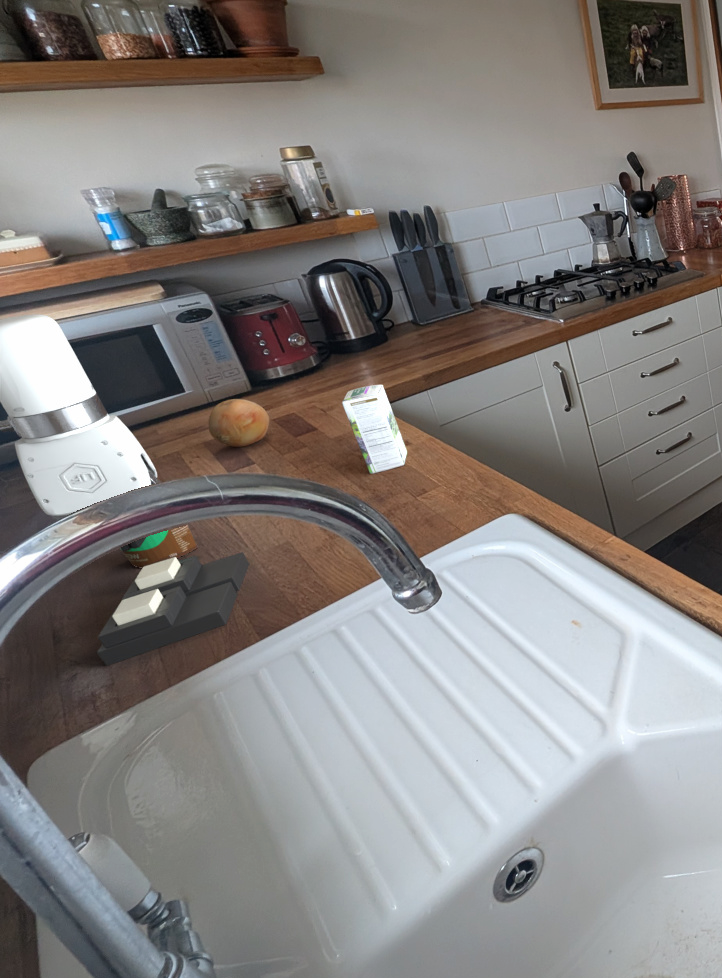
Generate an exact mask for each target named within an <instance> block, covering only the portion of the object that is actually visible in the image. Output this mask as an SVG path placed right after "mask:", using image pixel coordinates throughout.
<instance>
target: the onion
mask: <svg viewBox="0 0 722 978" xmlns="http://www.w3.org/2000/svg"><path fill="white" fill-rule="evenodd" d="M269 425H270V417H269V414H268V413H267V411H266V410H265V408H263V407H262V406H261V405H259V404H258V403H256V402H253V401H251V400H248V399H243V398H233V399H232V398H231V399H226V400H224V401H221V402H219V403H217V404H216V405H215V406H214V407H213V408H212V409H211V411H210V414H209V418H208V431H209V434H210V435H211V436H212V438H213V439H214V440H215V441H217V442H219V443H221V444H223V445H225V446H228V447H235V448H242V447H247V446H249V445H251V444H254V443H256V442H258V441H260V440H262V439H264V438H265V436H266V434H267V431H268V429H269Z"/></svg>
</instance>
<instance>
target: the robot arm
mask: <svg viewBox="0 0 722 978" xmlns="http://www.w3.org/2000/svg"><path fill="white" fill-rule="evenodd" d="M0 404H1V405H2V407H3V409H4V410H5V412H6V413H7V415H8V416H7V418H6V419H5V420H0V432H2V433H7V432H15V433H16V434H17V437H20V438H19V439H18V440H17V441H15V442H14V448H15V452H16V457H17V459H18V462H19V465H20V468H21V470H22V473H23V476H24V477H25V480H26V482H27V484H28V487H29V489H30V491H31V493H32V495H33V497H34V499H35V501H36V502H37V504H38V506H39V507H40V509H41V510H42V511H43V512H44V513H45V515H47V516H51V517H52V519H53V520H54V521H56V520H59V519H60V518H63V517H65V516H67V515H69V514H71V513H73V512H76V511H77V510H80V509H82V508H85V507H87V506H90V505H92V504H94V503H97V502H100V501H103V500H106V499H109V498H111V497H114V496H117V495H120V494H123V493H126V492H128V491H131V490H134V489H138V488H141V487H145V486H149V485H152V484H156V483H162V481H160V479H159V478H158V472H157V469H156V467H155V465H154V463H153V462H152V460H151V458H150V457H149V455H148V454H147V452H146V451H145V449H144V448H143V446H142V445H141V443H140V442H139V440H138V439H137V437H136V436H135V435H134V434H133V433H132V431H131V430H130V429H129V427H127V426H126V425H125V423H124V422H123V421H122V420H121V419H120V418H119V417H118V416H117V415H115V414H110V415H109V413H108V411H107V410H106V407H105V406H104V404H103V402H102V400H101V399H100V397H99V395H98V393H97V392H96V390H95V388H94V386H93V384H92V383H91V380H90V379H89V377H88V375H87V373H86V371H85V370H84V368H83V366H82V363H81V362H80V360H79V359H78V356H77V355H76V353H75V351H74V350H73V348H72V346H71V344H70V342H69V341H68V339H67V336H66V335H65V333H64V331H63V330H62V328H61V325H59V323H58V322H57V321H56V320H55V319H54V318H52V317H51V316H49V315H45V314H39V313H33V314H32V313H31V314H23V315H16V316H10V317H5V318H1V319H0ZM145 539H146V537H145V538H142V539H139V540H137V541H134V542H132V543H130V544H128V545H125V546H123V547H121V549H122V551H123V552H125V551H128V550H130V549H131V548H134V549H135V548H139V547H140V546H141V545H142V543H143V542H144V540H145ZM122 551H121V552H122ZM123 552H122V553H123Z"/></svg>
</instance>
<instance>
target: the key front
mask: <svg viewBox="0 0 722 978" xmlns="http://www.w3.org/2000/svg"><path fill="white" fill-rule="evenodd" d="M163 600H164V598H163V596H162V594H161V593H160V591H159V590H158V589H155V590H152V591H149V592H146V593H143V594H140V595H136V596H133V597H130V598H127V599H124V600H122V599H121V601H120V603H119V604H118V605H117V606H118V608H117V609H116V608H115V609H116V611H115V610H114V611H115V613H114V614H113V613H112V614H113V616H112V617H113V619H114V620H115V622H116V623H117V625H118V626H119V625H122V624H125V623H128V622H131V621H134V620H137V619H140V618H143V617H146V616H149V615H152V614H155V613H157V611H158V609H159V607H160V606H161V604H162V602H163Z"/></svg>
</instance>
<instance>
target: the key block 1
mask: <svg viewBox="0 0 722 978" xmlns="http://www.w3.org/2000/svg"><path fill="white" fill-rule="evenodd" d="M178 561H179V563H180V565H181V566H182V567H181V569H180V570H179V572H178V574H177V576H176V578H175V579H172V580H169V581H166V582H163V583H160V584H157V585H153V586H150V587H147V588H144V589H141V590H140V589H139V587H138V586H137V584H136V583H135V579H136V578H137V576H138V574H139V573H140V572H137V574H136V575H135V578H134V579H133V581H132V582H131V584H130V585H129V587H128V588H127V590H126V592H125V593H124V595H123V597H122V598H121V601H122V600H124V599H127V598H130V597H133V596H136V595H140V594H143V593H146V592H149V591H152V590H155V589H158V590H159V591H160V592H163V591H166V590H170V589H173V588H176V587H179V586H180V587H181V588H182V590H183V592H184V593H185V595H186V596H189V595H192V594H195V593H198V592H201V591H204V590H207V589H210V588H213V587H216V586H219V585H222V584H225V583H228V582H231V583H232V585H233V587H234V589H235V590H236V592H238V591H240V590H241V587H242V584H243V582H244V578H245V576H246V574H247V571H248V569H249V567H250V563H249V561H248V558H247V557H246V556H245V552H238V553H235V554H231V555H229V556H226V557H222V558H220V559H215V560H213V561H210V562H207V563H203V564H202V563H201V561H200V559H199V557H198V556H197V555H193V556H189V557H186V558H181V559H180V560H179V559H178Z"/></svg>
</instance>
